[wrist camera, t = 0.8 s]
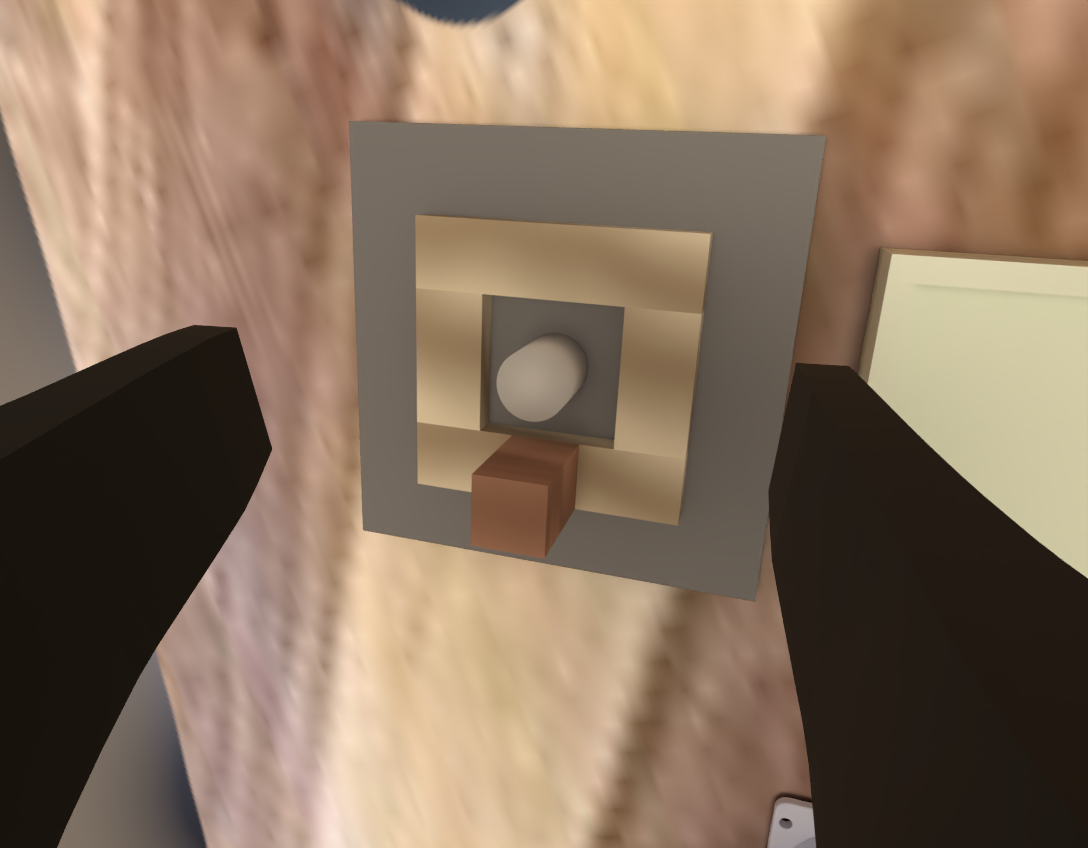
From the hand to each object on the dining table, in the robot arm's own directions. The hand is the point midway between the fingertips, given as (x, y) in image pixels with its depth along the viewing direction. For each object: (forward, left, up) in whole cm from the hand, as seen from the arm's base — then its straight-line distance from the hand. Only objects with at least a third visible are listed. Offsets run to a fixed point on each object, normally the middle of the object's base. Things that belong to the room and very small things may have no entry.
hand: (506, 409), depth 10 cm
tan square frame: (-4, +4, -16) cm, 17 cm away
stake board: (-4, +4, -17) cm, 18 cm away
